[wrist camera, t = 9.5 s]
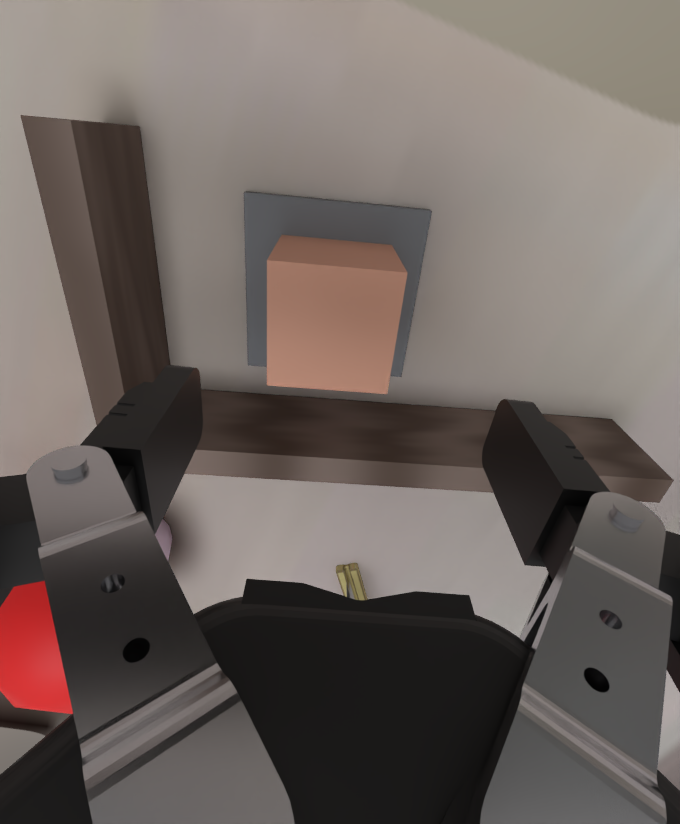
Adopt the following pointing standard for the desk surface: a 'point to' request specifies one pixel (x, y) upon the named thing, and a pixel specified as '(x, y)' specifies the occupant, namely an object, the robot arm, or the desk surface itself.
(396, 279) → the block
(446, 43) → the desk surface
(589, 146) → the desk surface
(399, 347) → the pad
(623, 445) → the brown wooden corner barrier
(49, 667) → the mushroom
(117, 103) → the desk surface
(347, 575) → the sign holder
